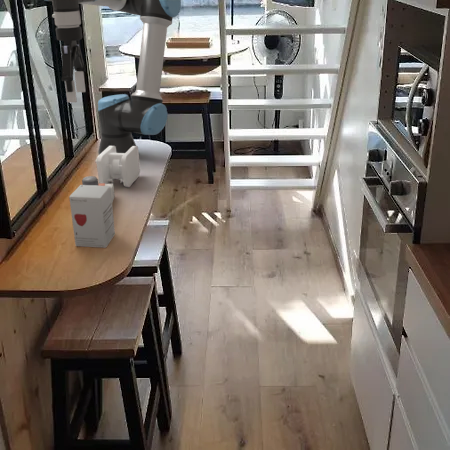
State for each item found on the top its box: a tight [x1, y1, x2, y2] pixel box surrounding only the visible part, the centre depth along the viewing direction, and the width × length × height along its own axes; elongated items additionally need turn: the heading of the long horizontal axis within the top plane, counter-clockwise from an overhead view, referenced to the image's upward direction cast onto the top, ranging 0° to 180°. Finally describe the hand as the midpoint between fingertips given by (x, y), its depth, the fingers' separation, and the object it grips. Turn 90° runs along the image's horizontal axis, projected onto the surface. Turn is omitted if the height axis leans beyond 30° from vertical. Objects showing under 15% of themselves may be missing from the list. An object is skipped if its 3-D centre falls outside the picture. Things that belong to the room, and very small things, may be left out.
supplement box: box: [68, 184, 116, 249], centre depth 167 cm, size 9×9×15 cm
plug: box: [81, 175, 99, 185], centre depth 182 cm, size 5×5×10 cm
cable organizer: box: [95, 145, 141, 188], centre depth 208 cm, size 15×11×12 cm
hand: (76, 97), depth 190 cm, fingers open, 13 cm apart
